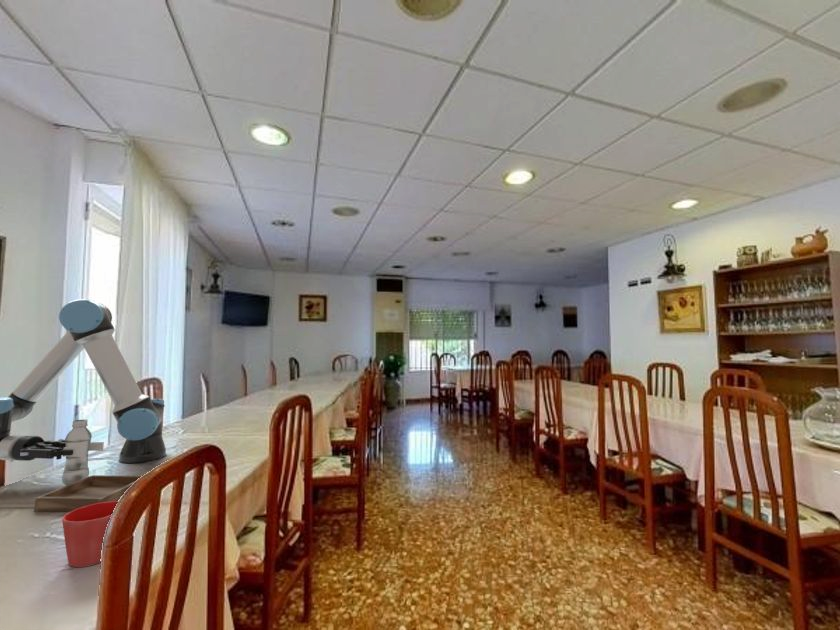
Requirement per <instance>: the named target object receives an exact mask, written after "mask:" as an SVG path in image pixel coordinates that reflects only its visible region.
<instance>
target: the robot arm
mask: <svg viewBox="0 0 840 630" xmlns="http://www.w3.org/2000/svg"><path fill="white" fill-rule="evenodd" d="M58 316H59V317H58V321H59V323H60V324H61V326H62V327H63V328H64V329H65V332H66V333H65V334H64V335H63V336H62V337H61V338H60V339H59V340H58V341H57V342H56V343H55V345H53V347H52V348H51V349H50V350H49V351H48V352H47V353H46V354H45V355H44V356H43V358H42V359H41V360H40V361H39V362H38V363H37V365H35V367H34V368H33V369H32V370H31V371H30V372H29V374H27V376H25V378H23V380H22V381H21V382H20V383H19V384H18V386H16V388H14V390H13V391H12V392H11V393H10V394H9V395H8V396H7V397H5V396H2V397H0V461H9V462H10V463H13V462H14V461H19V462H21V461H23V462H24V461H32V460H36V459H50V460H51V459H52V460H53V459H54V458H56V460H61V459H62V458H63V457H65V458H66V457H84V456H86V447H66V444H65V439H62V438H60V439H58V440H44V438H42V437H41V436H39V435H11V430H12V429H11V428H12V423H13V422H15V421H19V420H21V419H24V418H25V417H27V416H28V415H30V413H32V412H33V409H34V406H35V404H36V403H37V402H38V401H39V400H40V399H41V398H42V396H43V395H44V394H45V393H46V392H47V391H48V390H49V389H50V388H51V386H52V385H54V383H55V382H56V381H57V379H58V378H59V377H60V376H61V375H62V374H63V373H64V372H65V371H66V369H67V368H68V367H69V366H70V365H71V364H72V363H73V362H74V361H75V359H76V358H77V357H78V356H79V355H80V354H81V353H82V352H83V350H85V351H86V353H87V356H88V357H89V359H90V361H91V363H92V365H93V367H94V368H95V371H96V372H97V374H98V376H99V378H100V380H101V382H102V383H103V385H104V388H105V390H106V391H107V394H108V395H109V397H110V400H111V401H112V403H113V405H114V407H113V409H112V411H111V413H112V415H113V417H114V419H115V420H116V423H117V424H116V425H117V426H116V429H117V432H118V434H119V435H120V436H121V437H122V438H124V439H125V442H124V444H123V445H122V448H121V450H120V453H119V455H118V456H119V457H118V461H119V462H121V463H123V464H124V463H127V464H133V463H136V464H137V463H144V462H145V463H146V462H151V461H154V459H155V460H159V459H161V458H163V456H164V457H165V456H166V454H167V448H166V445H165V444H166V443H165V441H164V438H163V428H164V427H163V426H164V412H165V411H164V410H165V409H164V408H165V400H164V399H163V398H151V397H150V396H149V395H147V394H143V393H142V391H141V388H140V387H139V385H138V383H137V382H136V380H135V377H134V375H133V373H132V371H131V370H130V368H129V365H128V364H127V362H126V359H125V358H124V355H123V353H122V352H121V350H120V348H119V346H118V344H117V342H116V340H115V338H114V336H113V334H114V333H115V331H116V329H115V328H114V326H113V324H112V321H113V314H112V312H111V310H110V309H109V308H108V307H107V306H106V305H104V304H102V303H100V302H96V301H94V300H91V299H86V298H84V299H83V298H82V299H81V298H80V299H75V300H72V301H69V302H68V303H65V305H63V306H62V308H61V309H60V311H59V314H58ZM104 446H105V441H91V442H90V446H89V452H90V451H92V452H93V451H95V452H97V451H98V452H102V451H104ZM160 457H161V458H160ZM158 458H159V459H158ZM150 460H151V461H150Z"/></svg>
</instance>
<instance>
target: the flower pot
mask: <svg viewBox="0 0 840 630" xmlns="http://www.w3.org/2000/svg"><path fill="white" fill-rule="evenodd" d="M117 503H118V501H110V502H101V503H96V504H92V505H88V506H84V507H81V508H78V509H75V510H73V511H71V512H66V514H64V515H63V517H62V518H61V519H62V520H61V521H62V522H61V523H62V531H63V536H64V538H63V539H64V543H65V549H66V550H65V552H66V556H67V563H68V565H69V566H71V567H75V568H84V567H90V566H93V565H96V564H99V563H101V562H100V559H101V550H102V543H103V537H104V534H105V530H106V527H107V524H108V522H109V520H110V517H111V514H112V513H113V510H114V508H115V506H116V504H117Z"/></svg>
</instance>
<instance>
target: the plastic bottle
mask: <svg viewBox="0 0 840 630" xmlns="http://www.w3.org/2000/svg"><path fill="white" fill-rule="evenodd" d="M88 421H89V419H76V420H73V421H72V424H71V428H72V429H71V430H70V431H68V433H67V434H66V436H65V438H64V440H65V444H66V447H86V456H84V457H65V465H64V470H63V472H62V476H61V483H62V484H63V486H67V485H69V484H72V483H74V482H77V481H79V480H82V479H84V478H87V477H89V476H90V469H89V452H90V451H89V446H90V442H92V437H93V435H92V432H91V431H90V429H88V428H87V426H88V425H89V424H88Z"/></svg>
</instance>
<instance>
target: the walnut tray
mask: <svg viewBox="0 0 840 630" xmlns="http://www.w3.org/2000/svg"><path fill="white" fill-rule="evenodd" d="M141 476H142V475H103V474H102V475H99V474H98V475H97V474H95V475H94V474H92V475H89V476H88V477H87V478H84V479H82V480H79V481H77V482H74V483H72V484H69V485H63V486H62V487H60V488H59V487H58V488H57V489H55V490H52V491H50V492H47V493H44V494H42V495H40V496H36V497H34V506H33V507H34V508H33V512H42V513H43V512H45V513H46V512H48V513H49V512H50V513H51V512H52V513H53V512H54V513H55V512H56V513H69V512H71V511H73V510H75V509H78V508H81V507H84V506H88V505H92V504H96V503H101V502H110V501H118V500H119V499H120V497H121V496H122V495H123V494H124V492H125V491H126V490H127V489H128V488H129V487H130V486H131V485H132V484H133V483H134V482H135V481H136V480H137V479H138V478H140V477H141Z"/></svg>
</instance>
